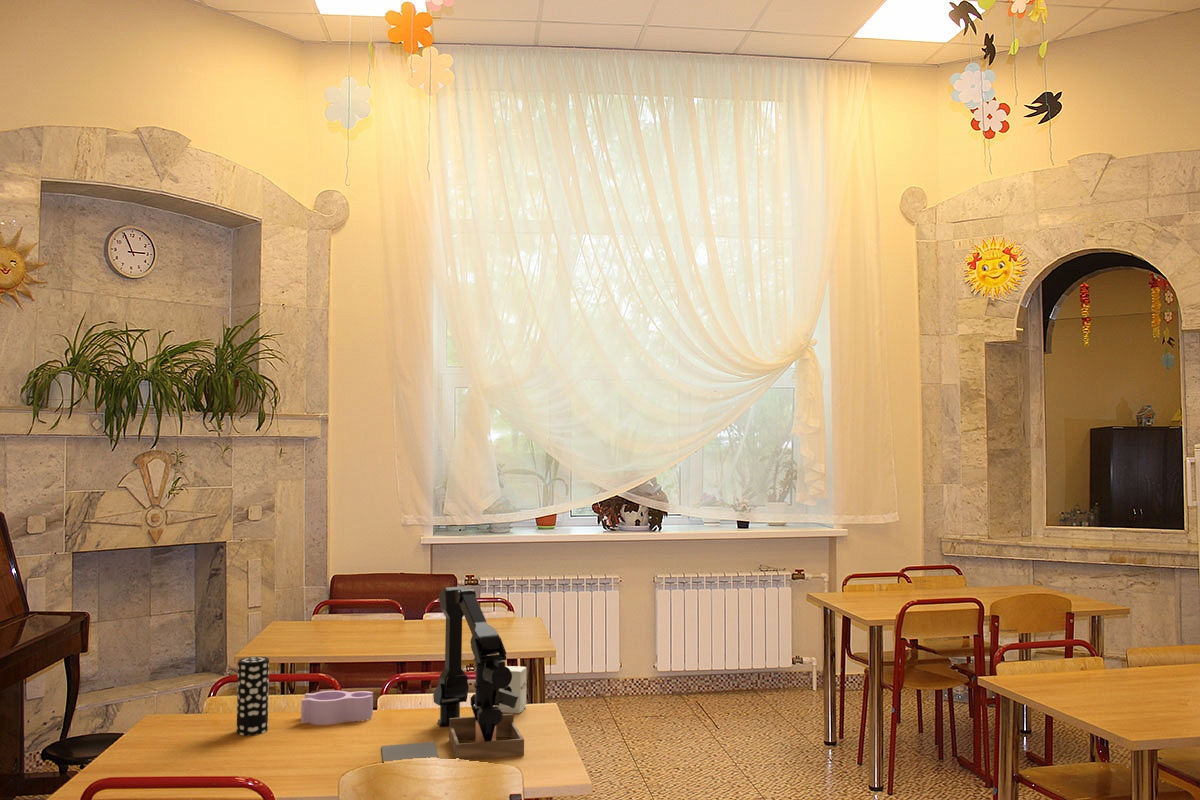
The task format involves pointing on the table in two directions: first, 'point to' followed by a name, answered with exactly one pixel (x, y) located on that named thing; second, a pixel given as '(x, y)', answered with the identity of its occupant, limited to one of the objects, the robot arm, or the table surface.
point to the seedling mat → (409, 751)
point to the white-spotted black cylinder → (252, 695)
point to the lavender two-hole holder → (336, 707)
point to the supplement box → (516, 689)
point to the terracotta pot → (480, 737)
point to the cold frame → (489, 749)
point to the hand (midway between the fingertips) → (485, 739)
